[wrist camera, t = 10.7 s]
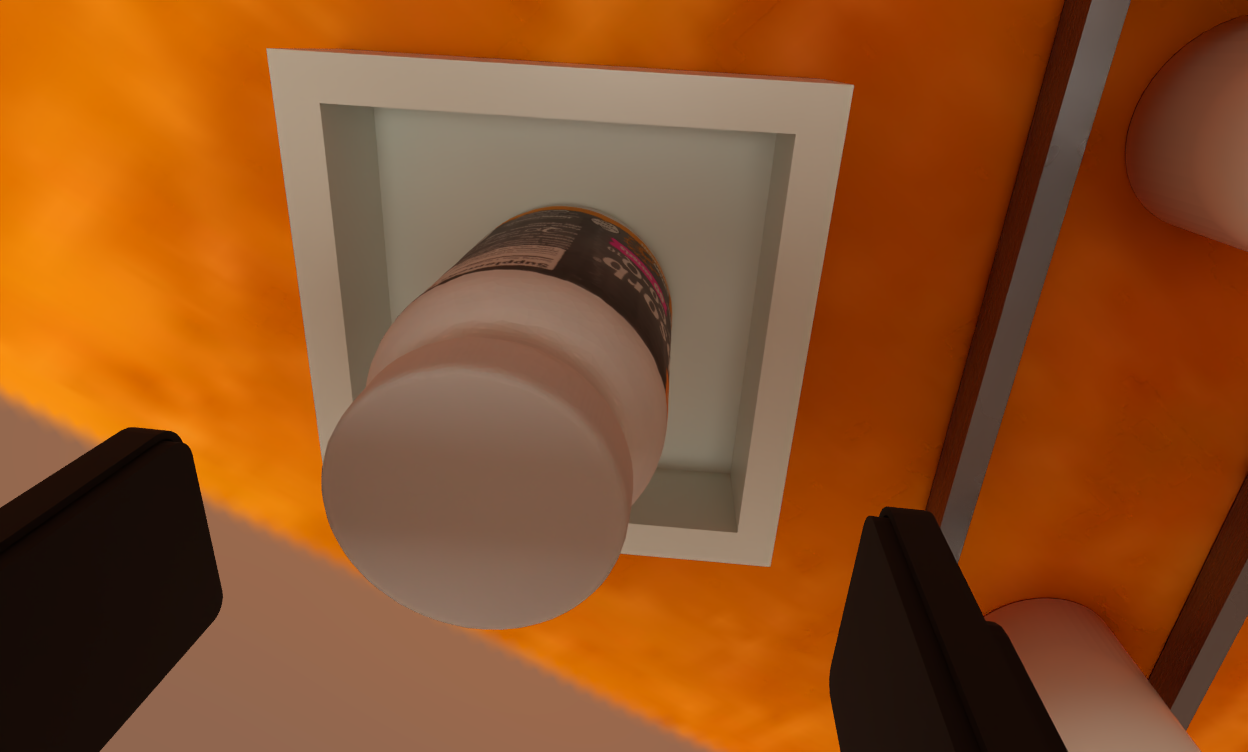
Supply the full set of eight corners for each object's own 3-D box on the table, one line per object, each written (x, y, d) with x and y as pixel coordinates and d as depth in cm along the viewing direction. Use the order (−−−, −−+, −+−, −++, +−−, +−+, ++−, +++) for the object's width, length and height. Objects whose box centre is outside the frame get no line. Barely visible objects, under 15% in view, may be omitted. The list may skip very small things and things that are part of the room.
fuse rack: (1547, -43, 16) (1625, -51, 14) (1145, 749, 26) (1169, 785, 24) (1083, -68, 16) (1119, -78, 15) (867, 722, 26) (877, 756, 25)
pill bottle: (700, 362, 20) (719, 612, 11) (516, 421, 21) (397, 691, 12) (628, 165, 18) (579, 275, 9) (428, 243, 19) (209, 408, 10)
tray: (822, 78, 18) (854, 85, 14) (757, 494, 23) (770, 566, 19) (339, 48, 18) (266, 48, 15) (379, 461, 23) (331, 527, 20)
